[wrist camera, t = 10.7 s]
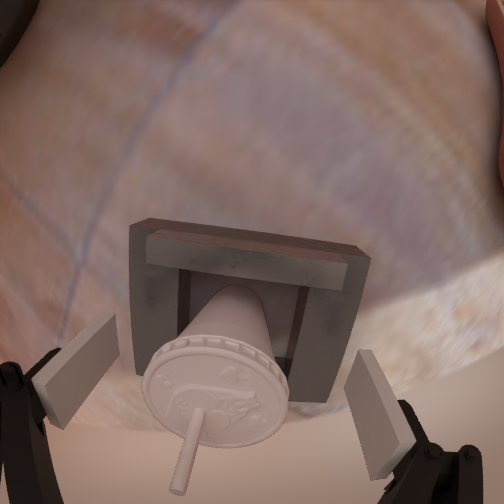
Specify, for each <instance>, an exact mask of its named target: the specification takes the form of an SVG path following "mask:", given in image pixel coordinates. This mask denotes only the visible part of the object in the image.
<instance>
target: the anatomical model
mask: <svg viewBox="0 0 504 504" xmlns="http://www.w3.org/2000/svg"><path fill="white" fill-rule="evenodd" d="M485 11H486V19H487V23H488V25H489V28H490V31H491V35H492V38H493V41H494V45H495V48H496V52H497V56H498V60H499V65H500V71H501V78H502V87H503V120H502V131H501V140H500V147H499V154H498V166H499V173H500V179H501V182H502V185H503V188H504V0H487V2H486V10H485Z"/></svg>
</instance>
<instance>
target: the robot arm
mask: <svg viewBox="0 0 504 504" xmlns="http://www.w3.org/2000/svg"><path fill="white" fill-rule="evenodd" d="M37 3H38V0H0V67H1V65H2V64H3V63H4V61H5V60H6V58H7V57H8V56H9V54H10V53H11V51H12V50H13V48H14V47H15V45H16V43H17V42H18V40H19V39H20V37H21V35H22V33H23V32H24V30H25V28H26V26H27V25H28V23H29V21H30V19H31V17H32V15H33V13H34V10H35V8H36V5H37ZM119 354H120V353H119V346H118V337H117V328H116V317H115V314H114V313H110V312H106V311H103V312H102V313H101V314H100V315H99V316H97V317H96V318H95V319H94V320H93V321H92V322H91V323H90V324H89V325H87V326H86V327H85V328H84V329H83V330H82V331H81V332H80V333H79V334H78V335H77V336H75V337H74V338H73V339H72V340H71V341H70V342H69V343H68V344H67V345H66V346H65V347H64V348H63V349H61V348H56V349H54V350H51V351H49V352H48V353H47V354H46V355H45V356H44V358H42V359H41V360H40V361H39V363H36V364H35V365H34V366H33V367H32V368H31V369H30V370H29V371H28V372H27V373H26V374H25V375H23V372H22V370H21V367H20V366H19V364H18V363H15V362H4V363H2V364H1V365H0V482H1V473H2V464H4V472H5V480H6V486H7V492H8V497H9V502H10V504H64V503H63V499H62V496H61V493H60V490H59V487H58V483H57V480H56V476H55V472H54V469H53V464H52V460H51V455H50V451H49V446H48V441H47V435H46V429H45V424H44V421H43V419H44V418H45V416H46V415H47V417H48V419H49V421H50V423H51V424H53V425H54V426H57V427H58V428H60V429H62V430H64V428H65V427H66V425H67V424H68V423H69V421H70V420H71V418H72V417H73V416H74V414H75V413H76V411H77V410H78V409H79V407H80V406H81V405H82V403H83V402H84V401H85V399H86V398H87V397H88V395H89V394H90V392H91V391H92V390H93V388H94V387H95V386H96V384H97V383H98V382H99V381H100V379H101V378H102V377H103V375H104V374H105V373H106V371H107V370H108V369H109V367H110V366H111V365H112V364H113V362H114V361H115V360H116V358H117V357H118V356H119ZM344 390H345V393H346V396H347V399H348V403H349V406H350V409H351V412H352V416H353V419H354V422H355V426H356V429H357V433H358V436H359V440H360V443H361V447H362V450H363V454H364V458H365V461H366V465H367V469H368V473H369V476H370V480H371V481H372V480H379V479H385V478H387V477H388V476H389V474H390V473H391V472H392V471H393V474H394V479H393V480H392V481H391V482H390V483H389V484H388V485H387V486H386V487H385V488H384V490H386V491H385V492H384V494H383V496H382V497H381V499H380V500H379V502H378V504H483V468H482V456H481V452H480V451H479V450H478V448H476V447H475V446H473V445H464V446H462V447H461V449H460V450H459V451H458V452H445V451H443V449H442V448H441V447H440V446H439V445H437V444H436V443H431V442H429V440H428V438H427V436H426V434H425V432H424V430H423V428H422V426H421V424H420V422H419V421H418V418H417V416H416V415H415V412H414V411H413V408H412V407H411V405H410V404H408V403H407V402H406V401H405V400H397V399H396V397H395V395H394V393H393V391H392V389H391V387H390V385H389V383H388V381H387V379H386V377H385V375H384V373H383V371H382V369H381V368H380V366H379V364H378V362H377V360H376V358H375V356H374V354H373V352H372V351H371V350H358V352H357V355H356V358H355V361H354V364H353V366H352V369H351V371H350V374H349V377H348V379H347V382H346V384H345V387H344Z"/></svg>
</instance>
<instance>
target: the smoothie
mask: <svg viewBox="0 0 504 504" xmlns="http://www.w3.org/2000/svg"><path fill="white" fill-rule="evenodd" d="M142 393H143V397H144V400H145V402H146V404H147V406H148V408H149V410H150V411H151V413H152V414H153V415H154V417H155V418H156V419H157V420H158V421H159V422H160V423H161V424H162V425H164V426H165V427H166V428H167V429H169V430H170V431H171V432H173V433H175V434H176V435H178V436H180V437H182V438H184V443H183V446H182V449H181V452H180V455H179V459H178V462H177V465H176V468H175V472H174V475H173V478H172V482H171V484H170V488H169V492H170V493H172V494H174V495H178V496H185V494H186V490H187V486H188V482H189V478H190V475H191V471H192V467H193V463H194V459H195V455H196V452H197V447H198V444H201V445H204V446H209V447H215V448H239V447H245V446H249V445H253V444H256V443H259V442H261V441H263V440H265V439H267V438H269V437H270V436H272V435H273V434H274V433H275V432H277V431H278V430H279V428H280V427H281V426H282V425H283V423H284V421H285V419H286V417H287V413H288V398H289V387H288V383H287V380H286V376H285V375H284V373H283V372H282V370H281V369H280V367H279V366H278V364H277V363H276V362H275V358H274V354H273V350H272V346H271V341H270V337H269V333H268V329H267V324H266V320H265V316H264V311H263V307H262V303H261V301H260V299H259V297H258V296H257V295H256V294H255V293H254V292H253V291H252V290H250V289H248V288H246V287H243V286H238V285H232V286H227V287H224V288H222V289H220V290H219V291H218V292H217V293H216V294H215V295H214V296H213V297H212V298H211V299H210V301H209V302H208V303H207V304H206V305H205V306H204V308H203V309H202V310H201V311H200V312H199V313H198V315H197V316H196V317H195V318H194V319H193V320H192V321H191V323H190V324H189V325H188V326H187V327H186V328H185V330H184V331H183V332H182V333H181V334H180V335H179V336H178V337H177V339H175V340H172V341H170V342H168V343H165V344H164V345H163V346H162V347H161V348H160V349H159V350H158V351H157V352H155V353H154V355H153V357H152V359H151V361H150V363H149V365H148V367H147V369H146V371H145V373H144V376H143V380H142Z"/></svg>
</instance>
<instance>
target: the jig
mask: <svg viewBox="0 0 504 504" xmlns="http://www.w3.org/2000/svg"><path fill="white" fill-rule="evenodd" d="M370 260H371V258H370V257H369V256H368V255H366V254H365V253H364V252H363V251H362V250H360V249H359V248H358V247H357V246H353V245H346V244H340V243H333V242H327V241H320V240H313V239H306V238H299V237H292V236H285V235H278V234H271V233H264V232H256V231H249V230H241V229H234V228H226V227H218V226H211V225H203V224H195V223H186V222H178V221H170V220H161V219H153V218H148V219H145V220H143V221H140V222H137V223H135V224H132V225H130V231H129V288H130V311H131V327H132V339H133V350H134V360H135V368H136V374H137V375H140V376H144V373H145V371H146V369H147V367H148V365H149V363H150V361H151V359H152V357H153V355H154V353H155V352H157V351H158V350H159V349H160V348H161V347H162V346H163V345H164V344H165V343H168V342H170V341H172V340H175V339H177V337H178V336H179V335H180V334H181V333H182V332H183V331H184V330H185V328H186V327H187V326H188V320H189V297H190V278H191V270H192V271H199V272H206V273H212V274H219V275H226V276H233V277H240V278H247V279H254V280H262V281H269V282H277V283H284V284H292V285H300V286H301V287H300V292H299V297H298V302H297V307H296V312H295V317H294V321H293V326H292V331H291V335H290V340H289V344H288V348H287V353H286V357H285V358H281V357H274V358H275V362H276V363H277V364H278V366H279V367H280V369H281V370H282V372H283V373H284V375H285V376H286V380H287V383H288V387H289V398H288V401H298V402H318V403H326V402H327V399H328V397H329V394H330V392H331V389H332V386H333V384H334V381H335V378H336V376H337V373H338V370H339V367H340V364H341V362H342V359H343V356H344V353H345V350H346V347H347V344H348V340H349V337H350V334H351V331H352V328H353V324H354V321H355V318H356V314H357V311H358V307H359V304H360V300H361V296H362V292H363V289H364V285H365V281H366V277H367V273H368V268H369V264H370Z"/></svg>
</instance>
